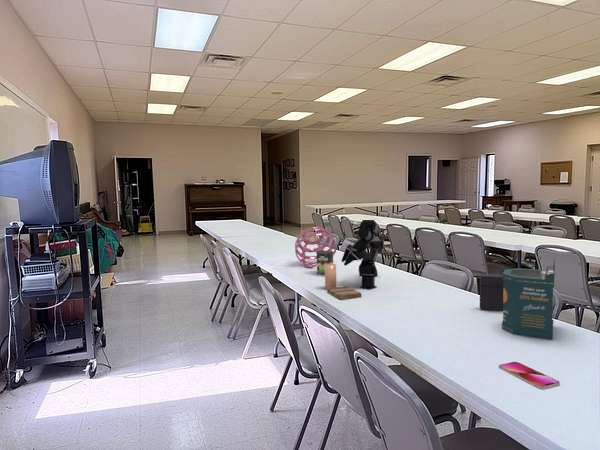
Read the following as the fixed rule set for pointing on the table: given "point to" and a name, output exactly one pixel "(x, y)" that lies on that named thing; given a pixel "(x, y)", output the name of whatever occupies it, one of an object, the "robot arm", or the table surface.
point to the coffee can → (323, 261)
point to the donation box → (529, 302)
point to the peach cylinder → (330, 276)
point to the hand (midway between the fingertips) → (343, 263)
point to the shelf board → (344, 292)
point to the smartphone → (529, 375)
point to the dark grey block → (491, 292)
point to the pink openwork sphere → (317, 241)
